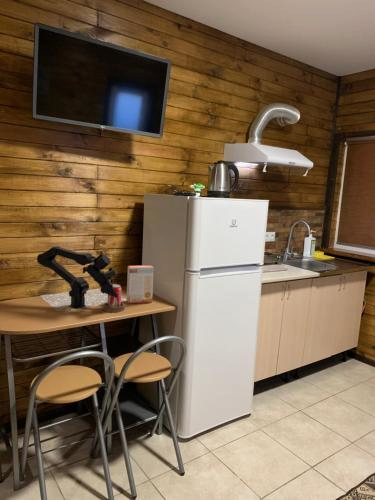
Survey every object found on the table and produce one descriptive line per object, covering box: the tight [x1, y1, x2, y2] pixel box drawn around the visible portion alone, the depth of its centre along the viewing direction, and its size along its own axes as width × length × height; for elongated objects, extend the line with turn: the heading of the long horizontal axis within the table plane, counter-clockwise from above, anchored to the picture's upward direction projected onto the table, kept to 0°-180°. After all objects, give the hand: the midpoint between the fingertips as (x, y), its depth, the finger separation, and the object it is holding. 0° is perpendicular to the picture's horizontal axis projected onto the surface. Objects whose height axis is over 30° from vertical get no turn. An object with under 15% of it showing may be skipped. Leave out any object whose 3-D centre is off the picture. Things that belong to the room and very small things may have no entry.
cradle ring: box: [102, 301, 126, 313], centre depth 204 cm, size 11×11×2 cm
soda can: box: [106, 283, 122, 307], centre depth 204 cm, size 7×7×12 cm
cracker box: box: [126, 265, 155, 304], centre depth 220 cm, size 14×6×21 cm, turn 111°
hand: (117, 295), depth 204 cm, fingers closed on soda can, 7 cm apart
